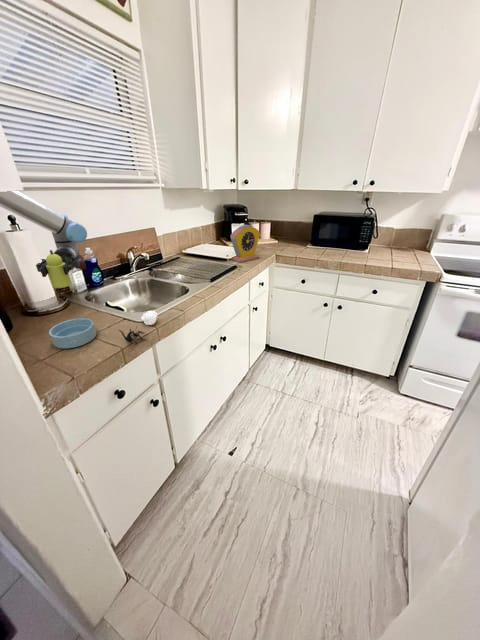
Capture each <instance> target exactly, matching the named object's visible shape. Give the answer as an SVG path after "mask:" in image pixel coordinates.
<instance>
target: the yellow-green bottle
mask: <svg viewBox="0 0 480 640" xmlns="http://www.w3.org/2000/svg"><path fill="white" fill-rule="evenodd" d="M49 253H50V254H48V255H47V256H46V258H45V259H46V262H47V264H48V265H46V268H47V271H48V274H47V275H48V277H49V280H50V282H51V285H52V287H53V288H54V289H63V288H67V287H70V286H72V285H73V284H72V280H71V278H70V274H69V273H68V275H65V273H64V270H63V266H64V265H65V263H63V262H62V259H61V257H60V256H59V255H57V254H53V253H54V252H53V250H52V249H50V250H49Z"/></svg>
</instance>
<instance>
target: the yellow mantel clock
mask: <svg viewBox="0 0 480 640" xmlns="http://www.w3.org/2000/svg"><path fill="white" fill-rule="evenodd" d="M260 236H261V231H260V230H259V229H258V228H256V227H254V226H253V225H251V224H241V225H239V226H238V227H237V228H235V229H234V230H233V231H232V233H231V234H230V236H229V237H230V240H231V244H232V248H233V250H234V254H235V256H233V257H234V258H233V259H232V258H231V261H234V262H237V263H239V264H240V263H245V262H249V261H254V260H257V259H258V260H259V258H260V256H259V255H257V254H256V251H257V246H258V243H259V239H260ZM256 257H258V258H256ZM253 258H254V259H253Z"/></svg>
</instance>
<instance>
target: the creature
mask: <svg viewBox="0 0 480 640" xmlns="http://www.w3.org/2000/svg"><path fill="white" fill-rule="evenodd" d="M137 329H138V326H136V327H135V330H137ZM135 330H132V328H130V329H129V332H128V333H127V335H125V333H124V332H123V331H122V330H120V329H118V331H119V332H120V333H121V334H122V337H123V338H124V340H125V341H126V342H128V343H132V342H133V341H134V342H135V344H139V341H136V340H135V339H134V338H138V337H139V338H140V340H141V341H146V339H145V338H143V337H142V336H141V335H140V334H142V335H144V334H145V331H143V330H141V331H140V330H138V331H135ZM132 336H133V337H132Z"/></svg>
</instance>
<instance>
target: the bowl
mask: <svg viewBox="0 0 480 640" xmlns="http://www.w3.org/2000/svg"><path fill="white" fill-rule="evenodd" d="M48 335H49V337H50V339H51V342H52V345H53V346H54V347H55V348H58V349H73V348H74V349H75V348H78V347H81V346H84V345H86V344H88V343H90V342H92V340H94V339H95V338H96V336H97V330H96V326H95V323H94V321H93V320H92V319H90V318H85V317H83V318H82V317H81V318H73V319H68V320H64V321H62V322H60V323H56V325H54V326H52V327H51V328H50V329H49V331H48Z"/></svg>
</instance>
